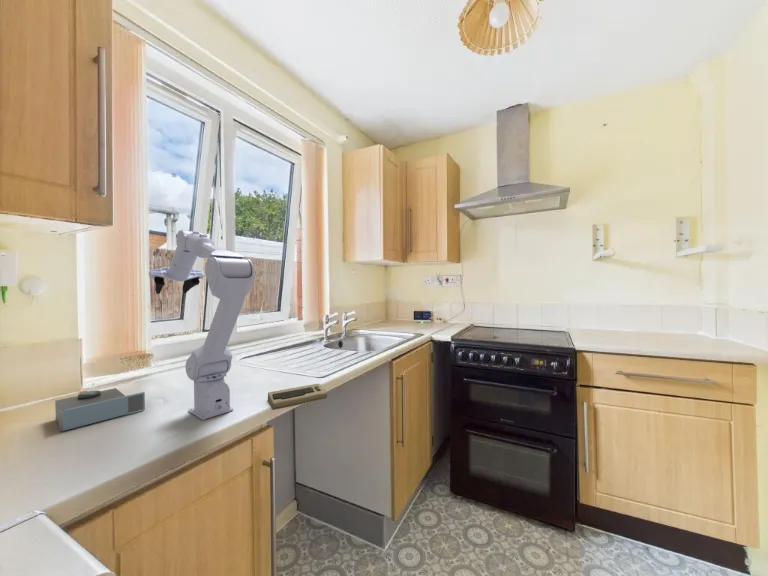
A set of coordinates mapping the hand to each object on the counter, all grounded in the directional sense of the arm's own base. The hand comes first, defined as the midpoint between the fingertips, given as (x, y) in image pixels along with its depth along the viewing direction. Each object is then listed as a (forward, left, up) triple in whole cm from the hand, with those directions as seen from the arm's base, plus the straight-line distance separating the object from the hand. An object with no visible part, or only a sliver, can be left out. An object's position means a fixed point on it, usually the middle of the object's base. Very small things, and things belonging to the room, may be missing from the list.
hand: (171, 291), depth 103 cm
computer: (-40, -20, -33) cm, 55 cm away
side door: (-13, +19, -32) cm, 40 cm away
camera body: (-8, +21, -32) cm, 39 cm away
